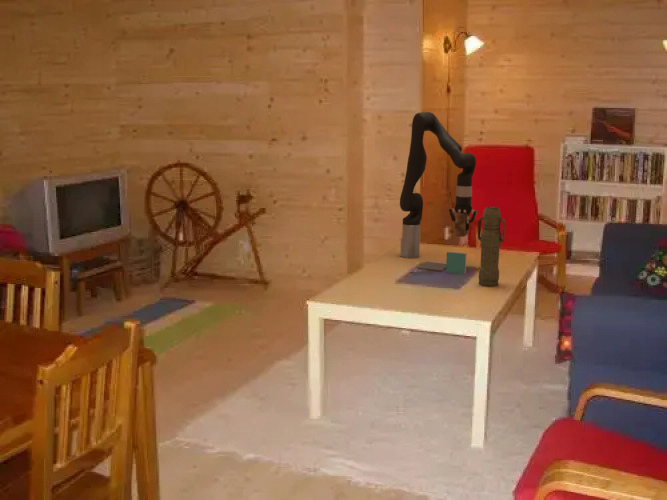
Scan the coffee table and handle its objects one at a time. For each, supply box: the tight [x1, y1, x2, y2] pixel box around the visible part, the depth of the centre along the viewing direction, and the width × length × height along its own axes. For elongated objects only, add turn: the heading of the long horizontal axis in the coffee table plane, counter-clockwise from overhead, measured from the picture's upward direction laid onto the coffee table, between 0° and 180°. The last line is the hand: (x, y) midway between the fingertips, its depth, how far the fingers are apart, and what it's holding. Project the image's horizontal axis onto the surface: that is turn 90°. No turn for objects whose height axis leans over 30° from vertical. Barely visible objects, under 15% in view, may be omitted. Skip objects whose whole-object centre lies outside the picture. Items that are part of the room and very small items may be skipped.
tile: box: [445, 250, 467, 275], centre depth 369 cm, size 9×2×10 cm, turn 66°
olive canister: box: [477, 206, 506, 288], centre depth 345 cm, size 9×12×35 cm
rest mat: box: [417, 261, 446, 272], centre depth 381 cm, size 12×14×1 cm
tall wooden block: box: [455, 213, 469, 238], centre depth 374 cm, size 4×8×11 cm, turn 156°
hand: (462, 230), depth 374 cm, fingers closed on tall wooden block, 4 cm apart
